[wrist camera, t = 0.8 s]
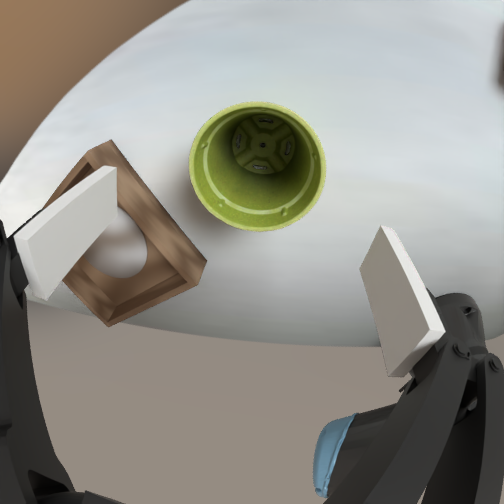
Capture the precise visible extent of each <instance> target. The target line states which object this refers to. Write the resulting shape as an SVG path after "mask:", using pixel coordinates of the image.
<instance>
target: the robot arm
mask: <svg viewBox="0 0 504 504" xmlns="http://www.w3.org/2000/svg"><path fill="white" fill-rule="evenodd" d="M117 216H118V214H117V167H111V166H103V167H101V168H100V169H98V170H97V171H95V172H94V173H92V174H91V175H89V176H88V177H86V178H85V179H84V180H82V181H81V182H79V183H78V184H77V185H75V186H74V187H72V188H71V189H70V190H68V191H67V192H66V193H64V194H63V195H62V196H61V197H59V198H58V199H57V200H55V201H54V202H53V203H52V204H50V205H49V206H47V207H45V208H43V209H41V210H39V211H38V212H37V213H36V214H34V215H33V216H32V218H30V219H29V220H27V221H26V223H24V224H23V225H22V226H20V227H19V228H18V229H17V230H16V231H15V232H14V233H13V234H12V235H10V236H9V237H8V238H6V234H5V230H4V226H3V222H2V221H1V220H0V504H124V503H121V502H118V501H116V500H113V499H110V498H107V497H104V496H101V495H98V494H95V493H92V492H89V491H85V493H83V492H76V491H75V489H74V487H73V484H72V482H71V480H70V478H69V476H68V474H67V472H66V470H65V468H64V467H63V465H62V464H61V463H60V461H59V460H58V458H57V456H56V455H55V452H54V449H53V446H52V443H51V440H50V437H49V434H48V430H47V427H46V423H45V420H44V416H43V412H42V408H41V404H40V400H39V395H38V390H37V386H36V381H35V375H34V369H33V363H32V356H31V349H30V341H29V331H28V320H27V301H26V294H25V291H24V289H25V288H26V286H27V285H28V284H29V286H30V289H31V291H32V294H33V295H34V296H36V297H38V298H41V299H43V300H47V299H48V298H49V296H50V295H51V294H52V292H53V291H54V290H55V288H56V287H57V286H58V285H59V283H60V282H61V281H62V279H63V278H64V277H65V276H66V274H67V273H68V272H69V271H70V269H71V268H72V267H73V266H74V264H75V263H76V262H77V261H78V260H79V258H80V257H81V256H82V255H83V254H84V252H85V251H86V250H87V249H88V248H89V247H90V246H91V244H92V243H93V242H94V241H95V240H96V239H97V238H98V236H99V235H100V234H101V233H102V232H103V231H104V230H105V229H106V228H107V227H108V225H109V224H110V223H111V222H112V221H113V220H114V219H115V218H116V217H117ZM360 272H361V276H362V279H363V282H364V285H365V289H366V292H367V295H368V299H369V302H370V306H371V309H372V313H373V317H374V320H375V324H376V328H377V332H378V336H379V340H380V344H381V348H382V352H383V356H384V360H385V365H386V369H387V373H388V377H404V376H405V375H406V374H407V373H408V372H409V373H410V375H411V376H412V377H413V378H412V379H411V380H410V381H409V382H407V383H406V384H405V385H404V386H403V387H402V388H401V389H400V390H399V392H402V391H403V390H404V392H403V394H402V395H401V397H400V399H399V401H398V402H397V403H395V404H392V405H389V406H385V407H382V408H378V409H375V410H371V411H368V412H363V413H360V414H359V413H354V414H353V415H352V416H348V417H345V418H341V419H337V420H334V421H331V422H330V423H328V424H327V425H326V426H325V427H324V428H323V430H322V431H321V433H320V436H319V439H318V441H317V445H316V449H315V454H314V463H313V483H314V487H316V489H315V491H316V493H317V495H318V496H320V497H324V498H328V499H327V500H326V501H325V502H324V503H323V504H417V502H418V500H419V499H420V497H421V495H422V493H423V491H424V490H425V488H426V490H425V493H424V497H423V500H422V503H421V504H499V502H500V497H501V491H502V485H503V477H504V369H503V365H502V363H501V361H500V359H499V358H498V357H497V356H495V355H494V354H492V353H488V350H487V348H486V345H485V336H484V328H483V321H482V315H481V312H480V310H479V308H478V306H477V304H476V303H475V301H474V299H473V298H472V297H470V296H468V295H466V294H461V293H454V294H448V295H444V296H441V297H438V298H436V299H435V297H434V296H433V295H432V293H431V292H430V291H429V290H428V289H427V288H425V286H424V284H423V282H422V280H421V278H420V276H419V274H418V272H417V270H416V268H415V267H414V265H413V263H412V261H411V259H410V257H409V256H408V254H407V252H406V250H405V248H404V247H403V245H402V243H401V241H400V240H399V238H398V236H397V235H396V233H395V231H394V230H393V229H391V228H388V227H385V226H381V225H380V228H379V230H378V232H377V234H376V236H375V238H374V240H373V243H372V245H371V247H370V249H369V251H368V253H367V255H366V257H365V259H364V261H363V263H362V265H361V267H360ZM426 486H427V487H426Z"/></svg>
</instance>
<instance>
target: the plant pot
mask: <svg viewBox="0 0 504 504" xmlns="http://www.w3.org/2000/svg"><path fill="white" fill-rule="evenodd" d="M260 119H270V120H272V121H273V123H268V122H259V120H260ZM238 135H241V139H240V146H239V147H240V148H238V147H237V143H236V140H237V136H238ZM288 141H289V142H290V144H291V147H290V151H289V153H288V155H285V151H286V148H287V142H288ZM261 143H265V144H266V146H265V147H264V148H263V147H261V146H260V144H261ZM253 165H258V166H264V167H265V166H266V167H267V169H266V170H264V169H256V168H254V167H253ZM189 174H190V179H191V183H192V185H193V188H194V190H195V193H196V195H197V197H198V198H199V200H200V201H201V203H202V204H203V205H204V206H205V208H206V209H207V210H208V211H209V212H210V213H211V214H213V215H214V216H215V217H217V218H218V219H220V220H221V221H223V222H225V223H226V224H228V225H230V226H233V227H236V228H239V229H243V230H249V231H258V232H261V231H272V230H277V229H281V228H284V227H286V226H289V225H291V224H293V223H295V222H296V221H298V220H300V219H301V218H302V217H303V216H305V215H306V214H307V213H308V212H309V211H310V210H311V209H312V208H313V206H314V205H315V204H316V202H317V201H318V199H319V197H320V195H321V193H322V190H323V187H324V183H325V177H326V160H325V155H324V151H323V147H322V145H321V142H320V140H319V138H318V136H317V135H316V133H315V132H314V130H313V129H312V128H311V126H310V125H309V124H308V123H307V122H306V121H305V120H304V119H303V118H302V117H300V116H299V115H298V114H296V113H295V112H293V111H291V110H290V109H288V108H285V107H283V106H280V105H277V104H273V103H269V102H245V103H240V104H236V105H233V106H230V107H228V108H226V109H224V110H222V111H220V112H218V113H217V114H215V115H214V116H213V117H211V118H210V119H209V120H208V121H207V122H206V123H205V124H204V125H203V126H202V127H201V129H200V130H199V132H198V133H197V135H196V137H195V139H194V141H193V144H192V147H191V151H190V155H189Z"/></svg>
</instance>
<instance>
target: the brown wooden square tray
mask: <svg viewBox="0 0 504 504" xmlns="http://www.w3.org/2000/svg"><path fill="white" fill-rule="evenodd" d="M103 166H111V167H117V214H118V216H117V217H116V218H115V219H114V220H113V221H112V222H111V223H110V224H109V225H108V227H107V228H106V229H105V230H104V231H103V232H102V233H101V234H100V235H99V236H98V238H97V239H96V240H95V241H94V242H93V243H92V244H91V246H90V247H89V248H88V249H87V250H86V251H85V252H84V254H83V255H82V256H81V257H80V258H79V260H78V261H77V262H76V263H75V264H74V266H73V267H72V268H71V269H70V271H69V272H68V273H67V274H66V276H65V277H64V278H63V279H62V281H63V282H64V283H65V284H66V285H67V286H68V287H69V288H70V290H71V291H72V292H73V293H74V294H75V295H76V296H77V297H78V298H79V299H80V300H81V301H82V302H83V303H84V304H85V305H86V306H87V307H88V308H89V309H90V310H91V311H92V312H93V313H94V314H95V315H96V316H97V317H98V318H99V319H100V320H101V321H102V322H103V323H104V324H105V325H106V326H108V327H110V326H112V325H114V324H117V323H119V322H121V321H123V320H125V319H127V318H129V317H131V316H133V315H136V314H138V313H140V312H142V311H144V310H146V309H148V308H150V307H153V306H155V305H157V304H159V303H161V302H163V301H165V300H167V299H169V298H171V297H174V296H176V295H178V294H180V293H182V292H184V291H186V290H188V289H190V288H193V287H195V286H197V285H198V283H199V280H200V278H201V275H202V273H203V270H204V267H205V265H206V262H207V260H206V259H205V258H204V256H203V255H202V254H201V253H200V252H199V250H198V249H197V248H196V247H195V246H194V244H193V243H192V242H191V241H190V240H189V238H188V237H187V236H186V235H185V233H184V232H183V231H182V230H181V228H180V227H179V226H178V225H177V224H176V222H175V221H174V220H173V219H172V217H171V216H170V215H169V214H168V212H167V211H166V210H165V209H164V207H163V206H162V205H161V204H160V202H159V201H158V200H157V198H156V197H155V196H154V195H153V193H152V192H151V191H150V190H149V188H148V187H147V186H146V184H145V183H144V182H143V181H142V179H141V178H140V177H139V175H138V174H137V173H136V171H135V170H134V169H133V168H132V166H131V165H130V164H129V162H128V161H127V160H126V158H125V157H124V156H123V154H122V153H121V152H120V150H119V149H118V148H117V146H116V145H115V144H114V142H113V141H112V140H109V141H107V142H105V143H103V144H101V145H99V146H96V147H94V148H92V149H90V150H88V151H87V152H86V154H85V155H84V156H83V157H82V158H81V159H80V160H79V162H78V163H77V164H76V165H75V166H74V168H73V169H72V170H71V171H70V173H69V174H68V175H67V176H66V178H65V179H64V180H63V181H62V183H61V184H60V185H59V187H58V188H57V189H56V190H55V192H54V193H53V194H52V196H51V197H50V199H49V200H48V201H47V203H46V204H45V206H44V207H43V208H45V207H47V206H49V205H50V204H52V203H53V202H54V201H55V200H57V199H58V198H59V197H61V196H62V195H63V194H64V193H66V192H67V191H68V190H70V189H71V188H72V187H74V186H75V185H77V184H78V183H79V182H81V181H82V180H84V179H85V178H86V177H88V176H89V175H91V174H92V173H94V172H95V171H97V170H98V169H100V168H101V167H103ZM43 208H42V209H43Z"/></svg>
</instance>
